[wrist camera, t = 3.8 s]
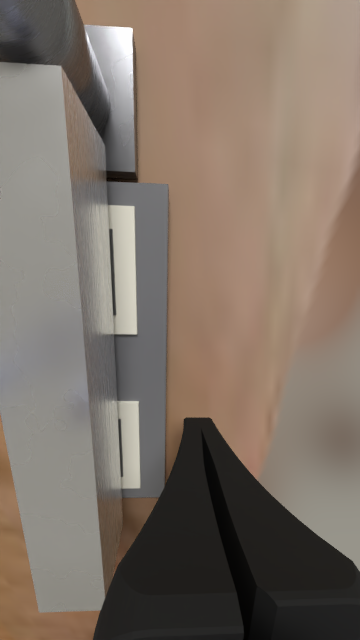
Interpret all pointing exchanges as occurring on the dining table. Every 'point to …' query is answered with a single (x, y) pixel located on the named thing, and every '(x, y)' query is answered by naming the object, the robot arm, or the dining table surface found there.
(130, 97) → the grey joystick
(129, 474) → the label board
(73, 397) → the swing arm
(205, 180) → the dining table surface
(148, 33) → the dining table surface
